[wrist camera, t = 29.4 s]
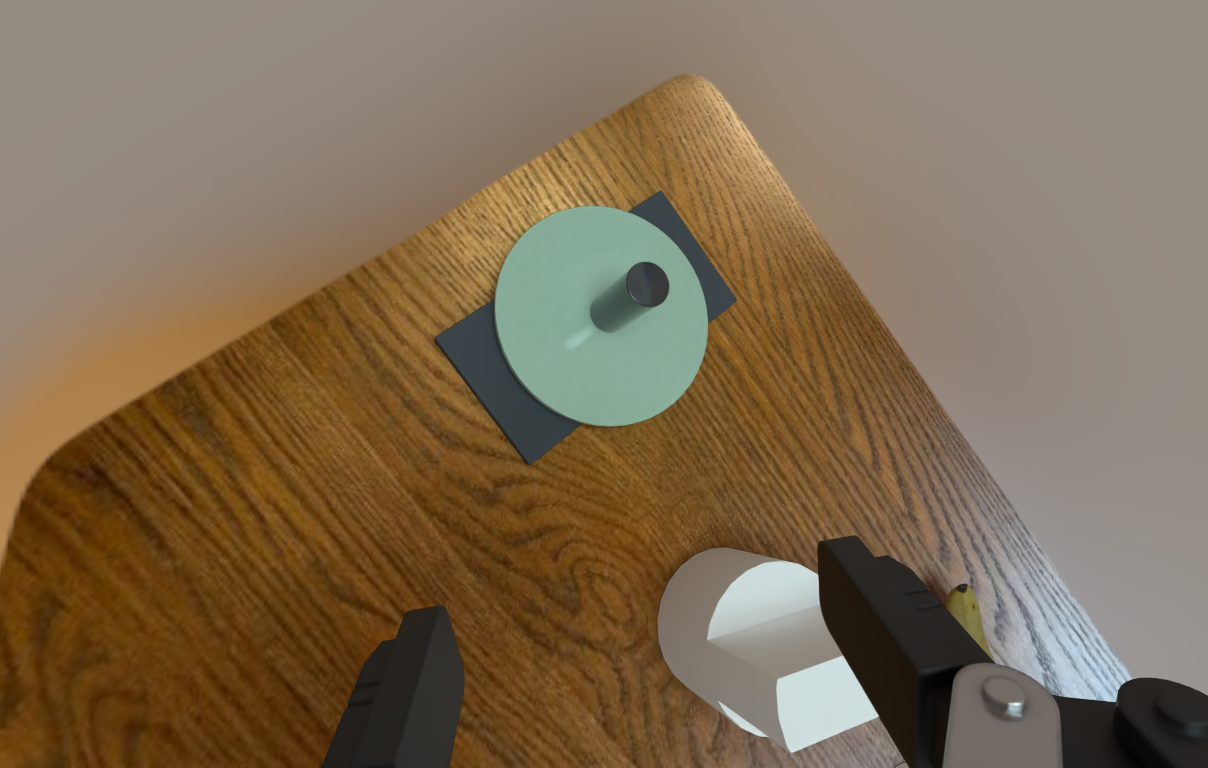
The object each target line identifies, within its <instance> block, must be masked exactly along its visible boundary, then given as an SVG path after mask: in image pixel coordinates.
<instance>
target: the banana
mask: <svg viewBox="0 0 1208 768" xmlns="http://www.w3.org/2000/svg"><path fill="white" fill-rule="evenodd" d="M945 607H946V609H947V610H948V611H949V612H950V613H951V614H952V615H953V616H954V618H955V619H956V620H957V621H958V622H959V623H960V624H961V625H962V626H963V628H964V629H965V630H966V631H967V632H968V633H969V634H970V635H971V637H972V638H973V639H974V640H975V641H976V642H977V643H978V644H979V645H980V647H981V648H982V649H983V650H984V651H985V652H986V653H987V654H988V656H989V657H990V658H991V659H992V660H993V657H992V655H991V652H990V649H989V647H988V644H987V641H986V638H985V635H984V632H983V628H982V622H981V616H980V610H979V605H978V602H977V599H976V597H975V595H974V593H973V591H972V589H971V587H970V586H969V585H967V584H961V585H958V586H957V587H955V588H954V589H953V590H952V591H951V592H950V593H949V594H948V595H947V598H946V601H945ZM993 661H994V660H993Z"/></svg>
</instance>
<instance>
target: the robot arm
mask: <svg viewBox="0 0 1208 768" xmlns="http://www.w3.org/2000/svg"><path fill="white" fill-rule="evenodd" d="M817 553H818V579H819V601H820V607H821V612H822V615H823V619H824V621H825V624H826V626H827V629H828V631H829V632H830V634H831V636H832V638H833V639H834V641H835V643H836V644H837V646H838V648H839V649H840V651H841V653H842V655H843V656H844V658H845V660H846V661H847V663H848V665H849V666H850V668H851V670H852V672H853V673H854V675H855V677H856V678H857V680H858V682H859V683H860V685H861V687H862V689H863V690H864V692H865V694H866V695H867V697H868V699H869V700H870V702H871V704H872V706H873V707H874V709H875V711H876V712H877V714H878V716H879V717H880V719H881V721H882V723H883V724H884V726H885V728H886V729H887V731H888V733H889V734H890V736H891V738H892V740H893V741H894V743H895V745H896V746H897V748H898V750H899V751H900V753H901V755H902V757H903V758H904V760H905V762H906V763H907V765H908V767H909V768H1208V696H1207V695H1205V694H1203V693H1202V692H1200V691H1197V690H1195V689H1193V688H1191V687H1188V686H1185V685H1182V684H1179V683H1176V682H1172V681H1169V680H1164V679H1158V678H1137V679H1132V680H1130V681H1127V682H1125V683H1124V684H1123V685H1122V686H1121V687H1120V689H1119V690H1118V695H1117V700H1116V702H1107V701H1097V700H1088V699H1078V698H1068V697H1061V696H1056V695H1052V694H1050V693H1049V692H1048V690H1047V689H1046V688H1045V687H1043V686H1042V685H1041V684H1040V683H1039V682H1037V681H1036V680H1034V679H1033V678H1032V677H1030V676H1028V675H1026V674H1024V673H1023V672H1020V671H1018V670H1016V669H1013V668H1010V667H1007V666H1003V665H999V664H996V663H995V662H994V661H993V660H992V659H991V658H990V657H989V656H988V654H987V653H986V652H985V651H984V650H983V649H982V648H981V647H980V645H979V644H978V643H977V642H976V641H975V640H974V639H973V638H972V637H971V635H970V634H969V633H968V632H967V631H966V630H965V629H964V628H963V626H962V625H961V624H960V623H959V622H958V621H957V620H956V619H955V618H954V616H953V615H952V614H951V613H950V612H949V611H948V610H947V609H946V607H945V606H943V607H942V605H941V602H940V601H939V600H938V599H937V597H936V596H935V595H934V594H933V593H932V592H931V591H928V588H927V586H926V585H925V584H924V583H923V582H922V581H921V580H920V578H919V577H918V576H917V575H916V574H915V573H914V572H913V571H912V569H910V568H908V567H907V566H905V565H903V564H901V563H900V562H898V561H896V560H895V559H893V558H891V557H890V556H888V555H886V556H881V557H874V556H873V554H872V553H871V552H870V551H869V550H868V548H867V547H866V546H865V545H864V544H863V542H862V541H861V540H860V539H859V538H858V537H857V536H855V535H854V536H848V537H842V538H836V539H830V540H824V541H820V542H819V543H818V548H817ZM355 685H356V688H355V689H353V692H352V694H351V697H350V699H349V701H348V708H346V709H345V711H344V713H343V716H342V718H341V721H340V723H339V726H338V728H337V730H336V733H335V735H334V738H333V740H332V742H331V745H330V747H329V750H328V752H327V755H326V757H325V759H324V762H323V764H322V767H321V768H449V766H450V760H451V755H452V750H453V745H454V740H455V735H456V730H457V725H458V720H459V714H460V709H461V704H462V699H463V694H464V667H463V662H462V658H461V655H460V651H459V648H458V645H457V641H456V638H455V635H454V631H453V628H452V625H451V621H450V618H449V615H448V612H447V609H446V608H445V606H444V605H439V606H433V607H428V608H422V609H416V610H410V611H407V612H406V613H405V615H404V617H403V620H402V623H401V625H400V628H399V631H398V634H397V636H396V639H392V640H386V641H382V642H381V644H380V645H379V646H378V647H377V648H376V649H375V651H374V652H373V653H372V654H371V655H370V657H369V658H368V659H367V660H366V661H365V663H364V665H363V668H362V670H361V672H360V675H359V677H358V680H357V682H356V684H355Z"/></svg>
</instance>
